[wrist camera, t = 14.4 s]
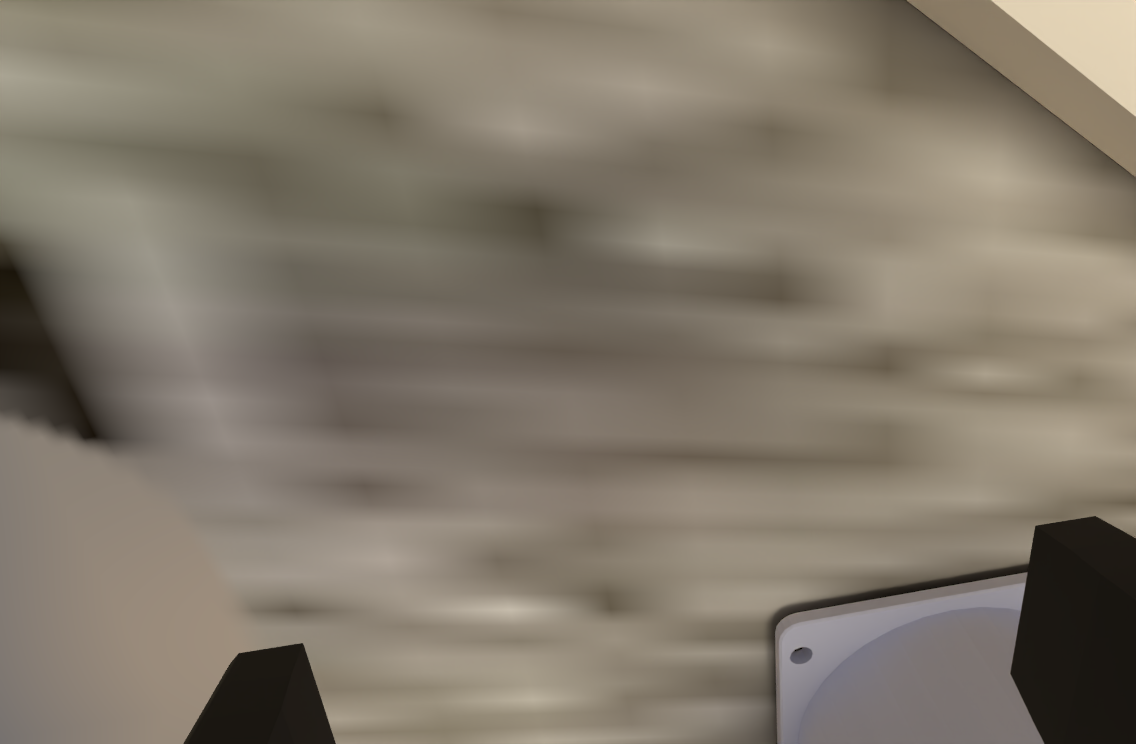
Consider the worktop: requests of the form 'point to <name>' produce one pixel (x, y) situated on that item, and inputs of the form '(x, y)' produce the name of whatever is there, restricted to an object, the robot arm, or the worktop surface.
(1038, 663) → the robot arm
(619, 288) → the worktop surface
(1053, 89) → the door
